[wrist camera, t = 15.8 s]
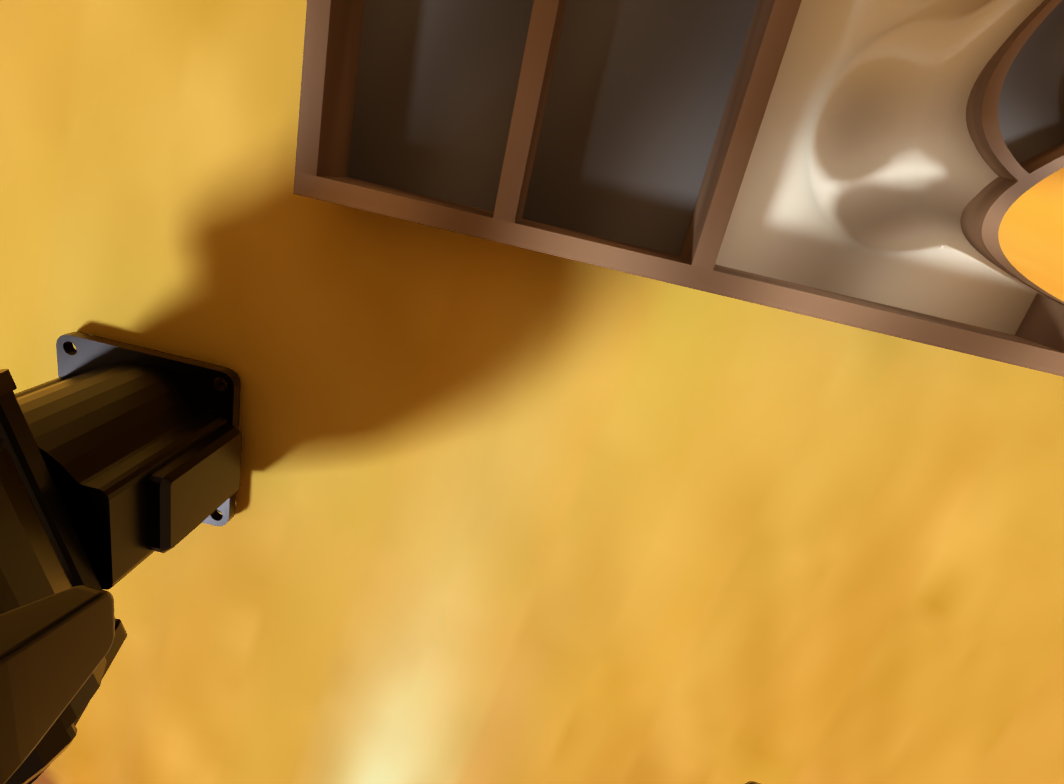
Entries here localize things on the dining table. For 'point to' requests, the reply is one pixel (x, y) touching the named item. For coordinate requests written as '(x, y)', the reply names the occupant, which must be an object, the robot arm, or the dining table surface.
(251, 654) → the dining table surface
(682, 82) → the box
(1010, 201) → the metal cup
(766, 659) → the dining table surface
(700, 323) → the dining table surface
